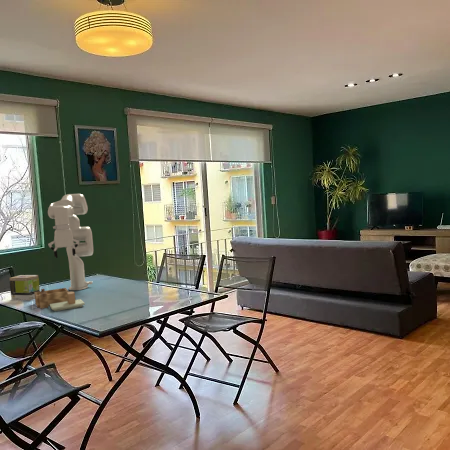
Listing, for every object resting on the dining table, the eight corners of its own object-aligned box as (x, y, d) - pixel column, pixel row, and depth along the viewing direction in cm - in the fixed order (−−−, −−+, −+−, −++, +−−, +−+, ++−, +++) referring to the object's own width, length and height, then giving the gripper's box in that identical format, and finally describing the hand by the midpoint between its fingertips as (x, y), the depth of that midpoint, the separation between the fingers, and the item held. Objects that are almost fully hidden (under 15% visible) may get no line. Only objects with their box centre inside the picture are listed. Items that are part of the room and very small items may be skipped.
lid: (81, 303, 269) (79, 289, 268) (84, 307, 259) (83, 292, 258) (49, 308, 261) (48, 293, 260) (52, 312, 250) (51, 297, 250)
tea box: (41, 297, 290) (39, 274, 289) (29, 301, 281) (27, 277, 279) (22, 296, 295) (20, 274, 294) (10, 300, 286) (8, 277, 284)
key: (44, 293, 262) (44, 288, 261) (46, 296, 253) (46, 291, 253) (41, 293, 261) (40, 288, 261) (42, 297, 252) (42, 291, 252)
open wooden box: (66, 298, 281) (65, 286, 280) (70, 303, 267) (69, 290, 266) (35, 303, 273) (34, 290, 272) (38, 309, 259) (36, 295, 258)
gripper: (47, 229, 253) (50, 259, 255) (79, 226, 262) (81, 255, 263) (46, 228, 260) (48, 257, 262) (76, 225, 268) (79, 254, 270)
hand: (65, 256), depth 262 cm, fingers open, 9 cm apart
